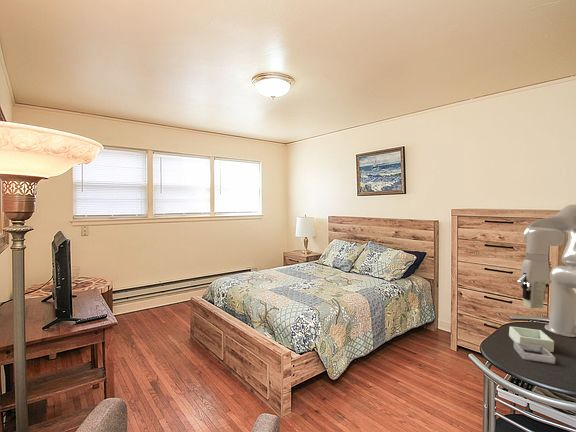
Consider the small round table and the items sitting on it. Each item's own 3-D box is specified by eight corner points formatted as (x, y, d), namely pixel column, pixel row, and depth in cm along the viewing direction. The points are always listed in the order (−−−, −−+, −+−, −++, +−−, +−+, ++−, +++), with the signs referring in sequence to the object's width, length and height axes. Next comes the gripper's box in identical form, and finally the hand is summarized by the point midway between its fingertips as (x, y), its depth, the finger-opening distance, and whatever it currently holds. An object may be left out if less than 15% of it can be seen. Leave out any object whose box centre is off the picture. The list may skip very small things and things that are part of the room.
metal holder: (542, 351, 131) (542, 345, 131) (554, 364, 121) (555, 357, 121) (513, 347, 134) (513, 341, 134) (523, 359, 124) (523, 353, 124)
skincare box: (534, 305, 140) (536, 277, 139) (543, 308, 136) (546, 280, 135) (521, 305, 139) (523, 277, 139) (530, 308, 135) (532, 280, 134)
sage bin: (539, 340, 142) (540, 330, 142) (553, 352, 131) (554, 341, 131) (508, 335, 146) (509, 326, 146) (519, 347, 134) (520, 336, 134)
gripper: (545, 256, 141) (542, 296, 142) (511, 255, 139) (508, 296, 140) (562, 259, 134) (559, 301, 135) (526, 259, 131) (523, 302, 132)
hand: (533, 298), depth 137 cm, fingers closed on skincare box, 6 cm apart
